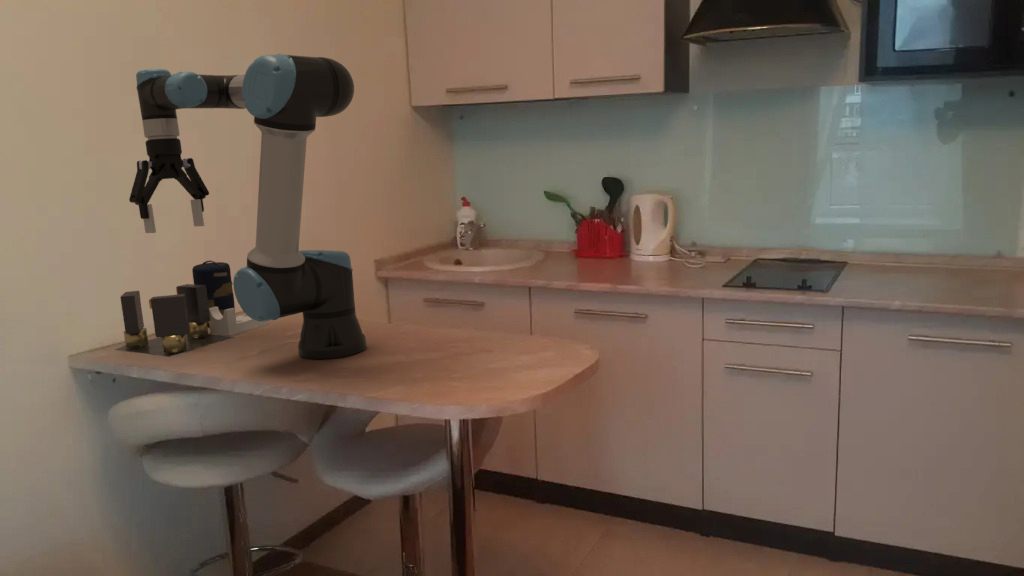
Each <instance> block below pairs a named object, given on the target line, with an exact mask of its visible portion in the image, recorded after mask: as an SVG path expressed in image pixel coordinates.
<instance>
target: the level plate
mask: <svg viewBox="0 0 1024 576" xmlns="http://www.w3.org/2000/svg"><path fill="white" fill-rule="evenodd" d="M233 338H235V336H233V335H230V336H228V335H218V334H210V333H208V335H207V336H204V337H199V338H188V337H187V334H185V339H186V347H187V349H185V350H183V351H179V352H172V353H166V352H164V350H163V343H162V337H154V338H151V339H148V345H145V346H141V347H135V348H127V347H126V345H125V346H122V347H118V348H115V349H114V350H116V351H122V352H131V353H138V354H144V355H145V354H147V355H152V356H153V355H154V356H161V357H167V358H169V357H173V356H175V355H179V354H183V353H186V352H190V351H193V350H197V349H199V348H203V347H208V346H209V345H213V344H216V343H219V342H223V341H226V340H229V339H233Z"/></svg>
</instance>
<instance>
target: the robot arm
mask: <svg viewBox="0 0 1024 576" xmlns="http://www.w3.org/2000/svg"><path fill="white" fill-rule="evenodd" d="M135 78H136V91H137V97H138V103H139V108H140V114H141V120H142V127H143V128H142V129H143V135H144V138H146V139H147V140H145V142H144V143H145V148H146V154H147V156H148V157H149V160H147V159H145V160H143V159H142V160H137V161H136V174H135V177H134V181H133V185H132V187H131V193H130V194H129V195H130V196H129V199H128V200H129V203H133V204H135V205H136V206H138V210H139V215H140V219H141V220H143V224H144V231H145V234H155V233H156V232H157V230H156V229H157V228H156V223H155V217H154V211H153V210H154V209H153V205H152V203H149V202H150V200H151V199H152V197H153V195H154V193H155V191H156V190H157V187H158V185H159V184H160V182H161V181H163V180H168V179H174V180H176V181H177V182H178V183H179V184H180V185H181V186H182V187H183V188H184V189H185V191H186V192H187V193H188V194H189V196H190V197H191V198H192V199H190V201H189V202H190V206H191V207H190V208H191V213H192V214H191V215H192V220H193V226H194V227H205V222H204V212H205V207H204V199H206V197H207V196H209V195H210V191H209V190H208V188H207V186H206V185H205V183H204V181H203V179H202V177H201V175H200V174H199V172H198V170H197V169H196V168H197V167H196V166H195V162H194V158H193V157H188V158H183V159H182V153H183V150H182V143H181V139H180V138H178V137H179V136H180V129H179V121H178V114H177V110H182V109H236V110H238V109H239V110H244V109H246V110H247V112H248V113H249V114H250V115H251V116H252V117H253V118H254V119H253V124H254V125H255V126H256V127H257V129H259V130H260V133H261V140H260V156H259V158H260V159H259V172H258V173H259V174H258V175H259V177H258V196H257V213H256V231H255V232H256V234H255V247H253V248H252V249H251V250H250V251H248V253H247V256H246V266H244V267H241V268H240V269H238V270H237V271H236V273H235V274H234V277H233V281H232V283H233V284H232V286H233V291H234V292H233V293H234V297H235V298H236V302H237V303H238V305H239V306H240V308H241V310H242V311H243V312H244V314H246V315H247V316H249V317H250V318H252V319H253V320H256V321H267V320H269V321H276V320H278V319H281V318H285V317H288V316H293V315H297V314H301V313H302V318H303V319H302V325H301V331H300V337H299V338H300V339H299V341H298V343H297V347H298V355H299V356H300V357H302V358H306V359H313V360H315V359H316V360H319V359H320V360H322V359H323V360H324V359H325V360H326V359H335V358H342V357H347V356H352V355H356V354H359V353H361V352H363V351H365V350H366V349H367V339H366V335H365V334H364V333H363V331H362V328H361V327H362V326H361V325H360V322H359V319H358V317H357V313H356V312H357V311H356V303H355V292H354V279H353V278H354V277H353V270H354V269H353V268H352V261H351V257H350V254H349V253H347V252H346V251H342V250H341V251H340V250H323V249H322V250H320V249H319V250H318V249H317V250H316V249H315V250H313V249H310V250H307V249H306V250H303V249H302V250H300V233H301V224H302V223H301V222H302V221H301V220H302V209H303V208H302V207H303V195H304V193H303V192H304V180H305V167H306V152H307V140H308V139H307V138H308V137H309V136H310V135H312V134H313V133H314V132H315V131H316V125H317V118H327V117H328V118H329V117H332V116H336V115H338V114H341V113H342V112H344V111H345V110H346V109H347V108H348V107H349V105H350V104H351V103H352V100H353V98H354V95H355V84H354V79H353V77H352V75H351V73H350V71H349V70H348V69H347V68H346V67H345V66H344V65H343V64H342V63H341V62H339V61H337V60H334V59H332V58H328V57H323V56H318V57H317V56H304V55H290V54H283V53H282V54H281V53H278V54H264V55H260V56H258V57H257V58H255V59H254V60H253V62H251V63H250V64H249V66H248V67H247V69H246V71H245V73H244V74H235V75H234V74H232V75H231V74H230V75H225V74H224V75H223V74H222V75H221V74H220V75H219V74H218V75H216V74H199V73H196V72H192V71H177V72H175V73H173V74H171V72H170V71H169V70H168V69H163V68H148V69H141V70H139V71H137V72H136V74H135ZM183 169H184V170H183ZM150 170H151V173H150V174H149V171H150ZM148 175H149V176H148Z"/></svg>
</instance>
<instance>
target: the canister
mask: <svg viewBox="0 0 1024 576" xmlns="http://www.w3.org/2000/svg"><path fill="white" fill-rule="evenodd" d="M191 271H192V278H193V279H192V280H193V285H206V290H207V298H208V306H209V308H212V307H218V309H219V312H220V313H221V315H222V316H223V315H224V310H226V309H230V308H235V309H236V307H235V306H236V305H235V294H234V292H233V291H234V288H233V281H232V274H231V267H230V264H229V263H227V262H222V261H221V262H216V261H214V260H205V261H204V262H202V263H199V264H196V265H194V266H192V270H191ZM207 327H208V328H210V326H209V321H208V322H207Z"/></svg>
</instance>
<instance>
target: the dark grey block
mask: <svg viewBox="0 0 1024 576" xmlns="http://www.w3.org/2000/svg"><path fill="white" fill-rule="evenodd" d="M148 305H149V310H151V311H152V317H153V318H152V320H153V326H154V327H153V328H154V335H155V338H158V337H162V343H163V350H164V352H166V353H172V352H179V351H183V350H185V349H187V347H186V339H185V334H189V332H190V327H189V319H188V312H187V304H186V296H185V294H179V295H177V294H170V295H159V296H151V297H150V299H148Z"/></svg>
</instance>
